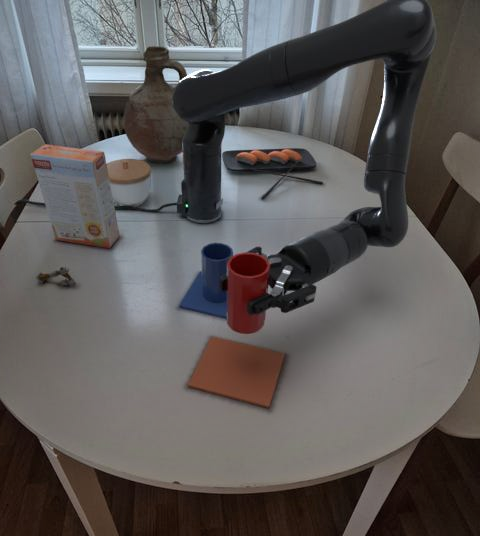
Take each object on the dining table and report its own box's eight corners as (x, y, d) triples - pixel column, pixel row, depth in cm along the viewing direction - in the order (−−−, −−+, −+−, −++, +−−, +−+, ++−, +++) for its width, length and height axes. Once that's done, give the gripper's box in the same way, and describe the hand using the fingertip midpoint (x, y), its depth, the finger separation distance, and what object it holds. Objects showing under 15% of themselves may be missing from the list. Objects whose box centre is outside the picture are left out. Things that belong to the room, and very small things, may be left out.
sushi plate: (305, 153, 145) (307, 141, 142) (334, 195, 123) (337, 183, 121) (220, 156, 140) (220, 144, 138) (235, 200, 119) (235, 188, 116)
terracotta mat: (187, 387, 72) (187, 384, 71) (211, 338, 80) (211, 336, 80) (269, 408, 69) (269, 406, 69) (284, 355, 78) (285, 353, 77)
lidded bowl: (97, 206, 114) (88, 166, 106) (123, 186, 123) (117, 148, 115) (138, 217, 111) (132, 176, 103) (162, 196, 120) (159, 156, 112)
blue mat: (179, 307, 86) (179, 305, 86) (200, 273, 95) (200, 271, 94) (236, 320, 84) (236, 318, 84) (252, 284, 92) (252, 282, 92)
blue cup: (198, 301, 88) (196, 257, 80) (208, 283, 92) (207, 240, 84) (226, 308, 87) (227, 263, 79) (235, 289, 91) (236, 246, 83)
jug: (131, 143, 145) (117, 39, 125) (194, 143, 148) (191, 41, 127) (125, 171, 130) (108, 58, 109) (197, 170, 132) (193, 59, 111)
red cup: (221, 329, 67) (221, 272, 59) (233, 304, 71) (234, 249, 63) (258, 338, 66) (263, 281, 58) (268, 312, 70) (274, 256, 62)
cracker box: (120, 236, 104) (105, 150, 90) (109, 249, 100) (92, 161, 85) (67, 227, 106) (44, 142, 92) (54, 240, 102) (28, 152, 87)
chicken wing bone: (76, 286, 88) (63, 268, 86) (48, 293, 91) (34, 276, 89) (81, 281, 90) (68, 263, 87) (52, 287, 93) (39, 271, 90)
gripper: (286, 219, 72) (205, 253, 64) (352, 259, 64) (268, 304, 56) (282, 256, 77) (206, 291, 69) (342, 297, 69) (264, 343, 61)
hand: (234, 297), depth 63 cm, fingers closed on red cup, 6 cm apart
